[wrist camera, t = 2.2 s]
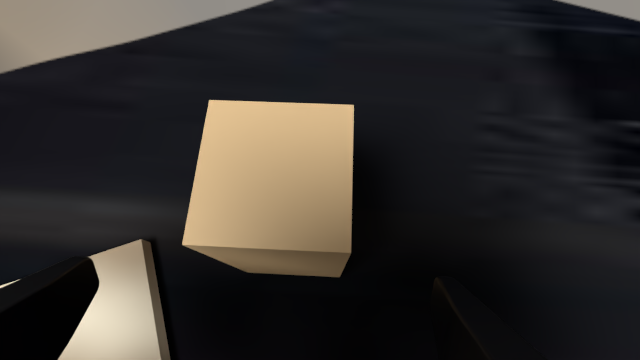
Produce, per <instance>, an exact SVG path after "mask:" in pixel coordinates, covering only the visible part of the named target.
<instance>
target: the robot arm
mask: <svg viewBox="0 0 640 360" xmlns="http://www.w3.org/2000/svg"><path fill="white" fill-rule="evenodd" d="M98 288H99V278H98V275H97V272H96V268H95V265H94V262H93V260H92V259H91V258H90V257H84V256H73V257H70V258H68V259H66V260H63V261H61V262H59V263H56V264H54V265H52V266H50V267H47V268H45V269H43V270H41V271H38V272H36V273H34V274H31V275H29V276H27V277H25V278H22V279H20V280H18V281H16V282H13V283H11V284H9V285H6V286H4V287H2V288H0V360H58V359H59V357H60V356H61V354H62V353H63V351H64V349H65V348H66V346H67V345H68V343H69V341H70V340H71V338H72V336H73V335H74V333H75V331H76V329H77V327H78V326H79V324H80V322H81V320H82V318H83V316H84V315H85V313H86V311H87V309H88V307H89V306H90V304H91V302H92V300H93V298H94V297H95V295H96V293H97V291H98ZM430 311H431V317H432V323H433V328H434V334H435V340H436V346H437V351H438V357H439V360H548V359H546V358H545V357H544V356H543V355H542V354H541V353H540V352H538V351H537V350H536V349H535V348H534V347H533V346H532V345H530V344H529V343H528V342H527V341H526V340H525V339H524V338H522V337H521V336H520V335H519V334H518V333H517V332H516V331H514V330H513V329H512V328H511V327H510V326H509V325H508V324H506V323H505V322H504V321H503V320H502V319H501V318H499V317H498V316H497V315H496V314H495V313H494V312H493V311H491V310H490V309H489V308H488V307H487V306H486V305H485V304H483V303H482V302H481V301H480V300H479V299H478V298H477V297H475V296H474V295H473V294H472V293H471V292H470V291H469V290H467V289H466V288H465V287H464V286H463V285H462V284H461V283H459V282H458V281H457V280H456V279H455V278H453V277H448V276H437V277H436V278H435V280H434V285H433V289H432V294H431V299H430Z"/></svg>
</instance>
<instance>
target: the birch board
mask: <svg viewBox="0 0 640 360" xmlns="http://www.w3.org/2000/svg"><path fill="white" fill-rule="evenodd" d="M89 257H90V258H91V259H92V260H93V262H94V265H95V268H96V272H97V275H98V278H99V288H98V291H97V293H96V295H95V297H94V298H93V300H92V302H91V304H90V306H89V307H88V309H87V311H86V313H85V315H84V316H83V318H82V320H81V322H80V324H79V326H78V327H77V329H76V331H75V333H74V335H73V336H72V338H71V340H70V341H69V343H68V345H67V346H66V348H65V349H64V351H63V353H62V354H61V356H60V357H59V359H58V360H171V359H170V354H169V348H168V342H167V336H166V331H165V325H164V319H163V313H162V307H161V302H160V296H159V290H158V284H157V278H156V273H155V267H154V261H153V255H152V250H151V244H150V242H148V241H145V240H142V239H140V240H137V241H134V242H131V243H128V244H125V245H122V246H119V247H116V248H113V249H110V250H107V251H104V252H101V253H98V254H95V255H92V256H89ZM17 281H18V280H17ZM14 282H16V281H14ZM11 283H13V282H11ZM11 283H8V284H5V285H2V286H0V288H2V287H4V286H6V285H9V284H11Z"/></svg>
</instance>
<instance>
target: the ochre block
mask: <svg viewBox="0 0 640 360" xmlns="http://www.w3.org/2000/svg"><path fill="white" fill-rule="evenodd" d="M353 125H354V105H339V104H309V103H279V102H249V101H219V100H209V104H208V110H207V115H206V120H205V126H204V131H203V136H202V142H201V147H200V152H199V158H198V163H197V168H196V174H195V179H194V184H193V190H192V195H191V200H190V205H189V211H188V216H187V221H186V227H185V232H184V237H183V243H182V245H184V246H186V247H188V248H191V249H193V250H195V251H198V252H200V253H203V254H205V255H207V256H210V257H212V258H214V259H217V260H219V261H221V262H224V263H226V264H229V265H231V266H233V267H236V268H238V269H240V270H243V271H245V272H248V273H267V274H286V275H306V276H326V277H340V276H341V274H342V271H343V269H344V267H345V265H346V263H347V261H348V259H349V256H350V254H351V233H352V179H353Z"/></svg>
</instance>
